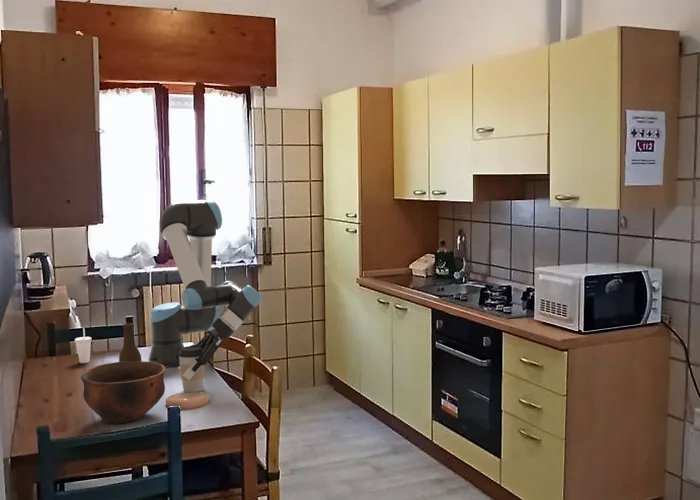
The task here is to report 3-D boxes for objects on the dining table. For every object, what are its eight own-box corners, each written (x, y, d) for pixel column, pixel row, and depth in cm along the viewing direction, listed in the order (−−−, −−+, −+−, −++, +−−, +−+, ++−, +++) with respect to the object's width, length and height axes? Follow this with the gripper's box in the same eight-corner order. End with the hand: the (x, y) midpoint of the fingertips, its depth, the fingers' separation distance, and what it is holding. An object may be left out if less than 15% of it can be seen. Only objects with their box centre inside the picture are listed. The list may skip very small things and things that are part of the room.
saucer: (167, 397, 247) (167, 393, 246) (210, 394, 249) (210, 390, 249) (163, 410, 233) (163, 406, 233) (208, 407, 235) (208, 403, 235)
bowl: (160, 429, 216) (157, 379, 214) (73, 434, 214) (70, 383, 212) (173, 403, 240) (171, 358, 239) (96, 407, 239) (93, 361, 237)
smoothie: (89, 363, 294) (87, 329, 292) (73, 364, 294) (71, 329, 292) (95, 359, 300) (93, 326, 299) (79, 360, 300) (77, 326, 299)
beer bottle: (136, 387, 260) (132, 320, 257) (147, 391, 254) (144, 323, 252) (116, 392, 255) (112, 323, 252) (127, 396, 249) (123, 327, 246)
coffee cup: (200, 393, 249) (198, 350, 248) (175, 392, 251) (173, 349, 250) (210, 385, 258) (208, 344, 257) (186, 385, 260) (184, 343, 258)
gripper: (242, 336, 248) (197, 389, 244) (227, 324, 268) (185, 372, 264) (226, 323, 246) (180, 375, 242) (212, 311, 266) (169, 360, 262)
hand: (183, 374), depth 253 cm, fingers closed on coffee cup, 9 cm apart
